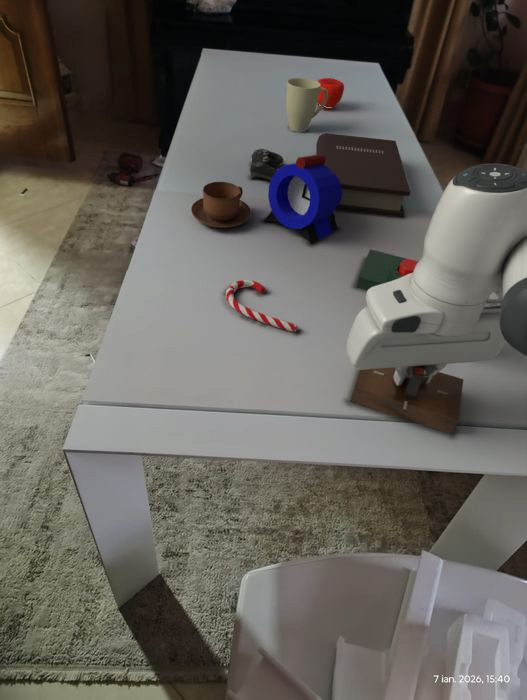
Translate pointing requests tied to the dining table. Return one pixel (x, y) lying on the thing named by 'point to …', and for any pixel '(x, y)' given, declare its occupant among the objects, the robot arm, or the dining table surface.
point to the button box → (379, 269)
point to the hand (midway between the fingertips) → (410, 381)
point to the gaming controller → (264, 163)
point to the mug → (303, 102)
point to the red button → (407, 266)
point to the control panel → (427, 407)
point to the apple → (330, 92)
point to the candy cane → (252, 313)
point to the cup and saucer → (221, 206)
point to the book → (366, 173)
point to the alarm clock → (305, 197)
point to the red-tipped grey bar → (413, 381)
